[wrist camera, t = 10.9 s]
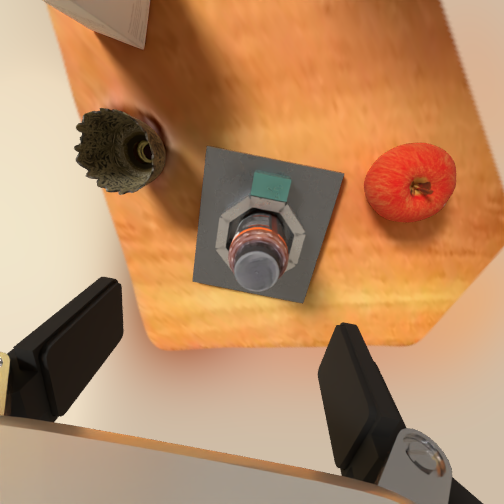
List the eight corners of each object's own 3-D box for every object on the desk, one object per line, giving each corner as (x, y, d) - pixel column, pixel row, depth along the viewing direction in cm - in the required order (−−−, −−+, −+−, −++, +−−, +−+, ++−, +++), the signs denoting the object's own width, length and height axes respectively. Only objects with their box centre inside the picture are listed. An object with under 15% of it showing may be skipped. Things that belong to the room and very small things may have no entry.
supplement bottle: (228, 224, 32) (208, 260, 22) (269, 199, 31) (268, 225, 20) (253, 261, 34) (246, 311, 23) (293, 239, 32) (303, 283, 22)
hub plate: (209, 145, 30) (199, 145, 26) (341, 172, 30) (352, 176, 26) (194, 277, 37) (185, 292, 33) (302, 298, 37) (305, 316, 33)
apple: (443, 166, 29) (502, 173, 22) (393, 224, 32) (430, 247, 24) (389, 127, 28) (431, 121, 20) (342, 191, 31) (365, 205, 23)
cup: (129, 104, 29) (81, 90, 21) (189, 136, 30) (162, 133, 22) (114, 166, 31) (66, 172, 24) (169, 193, 32) (138, 207, 25)
